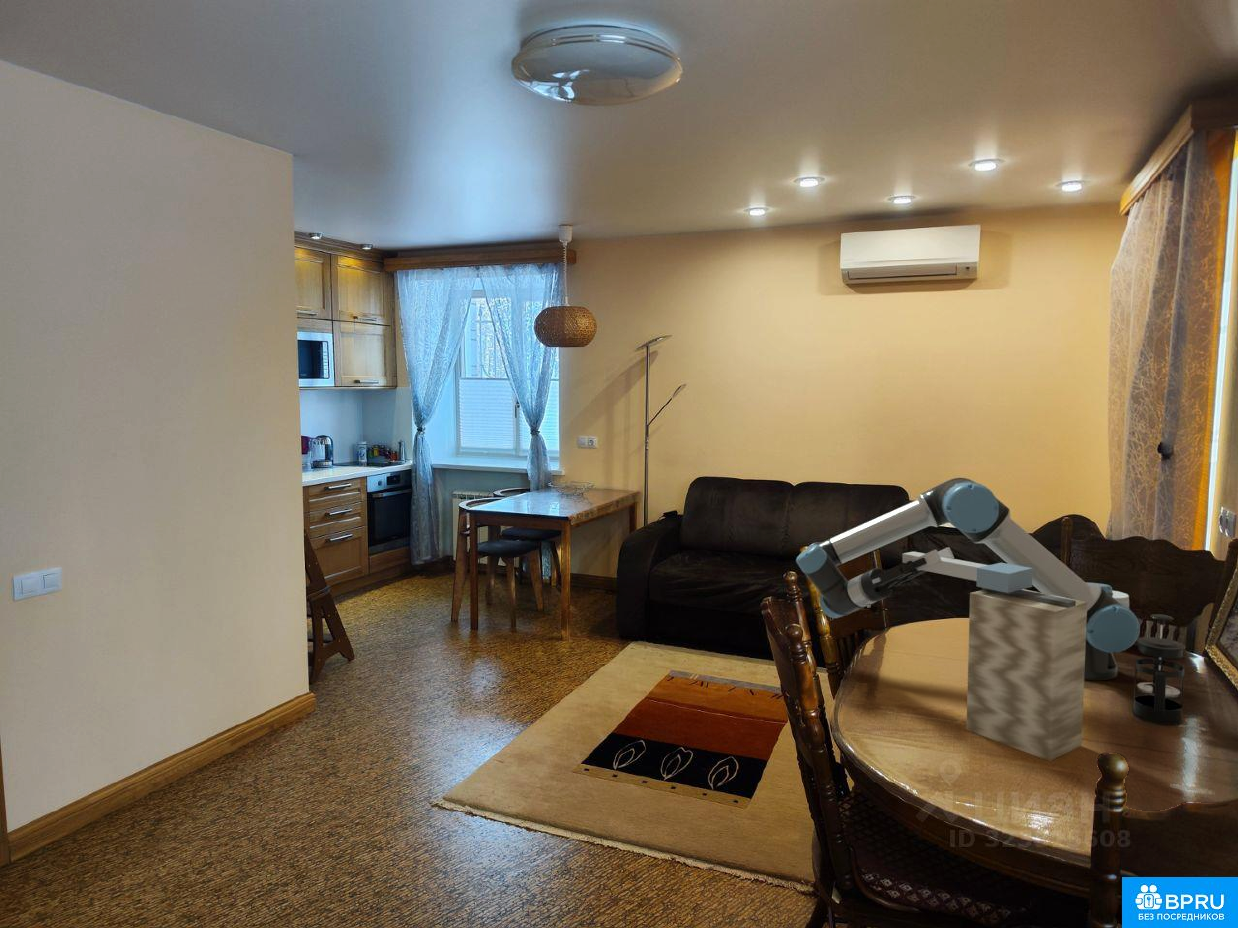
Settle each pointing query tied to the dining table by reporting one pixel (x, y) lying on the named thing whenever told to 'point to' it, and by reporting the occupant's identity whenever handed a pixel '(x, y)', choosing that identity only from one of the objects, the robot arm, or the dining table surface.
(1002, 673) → the patterned tall box
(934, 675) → the dining table surface
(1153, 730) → the dining table surface
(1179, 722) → the french press
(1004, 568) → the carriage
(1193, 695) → the dining table surface
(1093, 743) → the dining table surface
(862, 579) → the robot arm
